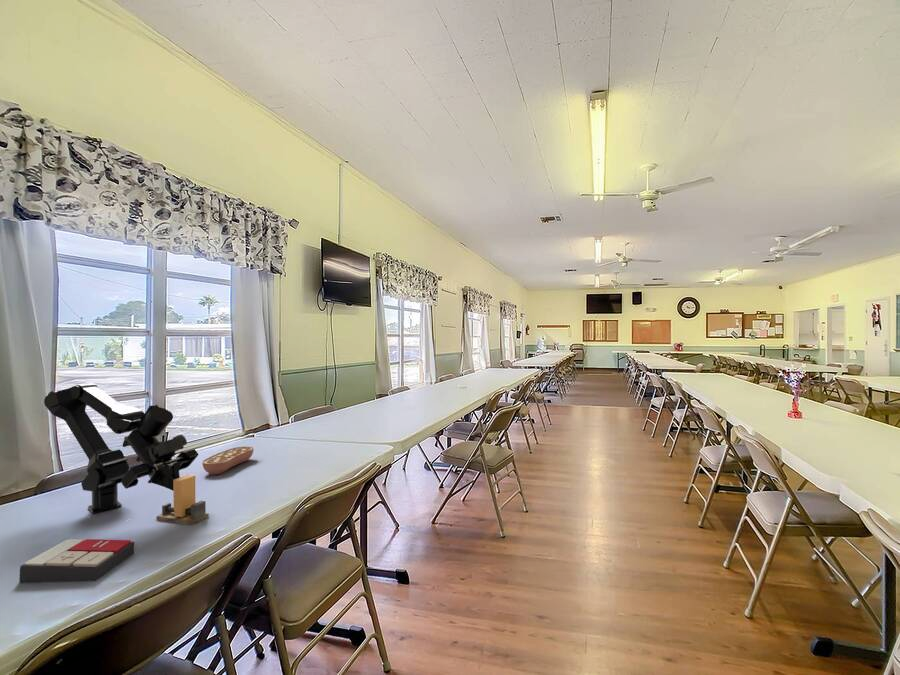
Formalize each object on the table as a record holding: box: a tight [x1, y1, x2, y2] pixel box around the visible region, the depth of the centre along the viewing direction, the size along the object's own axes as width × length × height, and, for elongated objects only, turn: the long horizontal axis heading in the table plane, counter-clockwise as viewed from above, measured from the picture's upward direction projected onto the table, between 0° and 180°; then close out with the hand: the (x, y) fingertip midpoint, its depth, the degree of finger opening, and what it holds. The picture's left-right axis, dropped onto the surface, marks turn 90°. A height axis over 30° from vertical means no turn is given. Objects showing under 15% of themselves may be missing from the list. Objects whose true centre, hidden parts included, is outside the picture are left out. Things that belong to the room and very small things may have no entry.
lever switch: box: [156, 500, 210, 526], centre depth 113 cm, size 12×5×5 cm, turn 74°
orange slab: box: [172, 474, 196, 517], centre depth 113 cm, size 2×4×10 cm, turn 164°
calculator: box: [19, 538, 135, 584], centre depth 89 cm, size 11×4×15 cm
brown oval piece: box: [201, 446, 254, 475], centre depth 157 cm, size 23×10×5 cm, turn 173°
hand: (180, 490), depth 113 cm, fingers closed, pressing on orange slab
